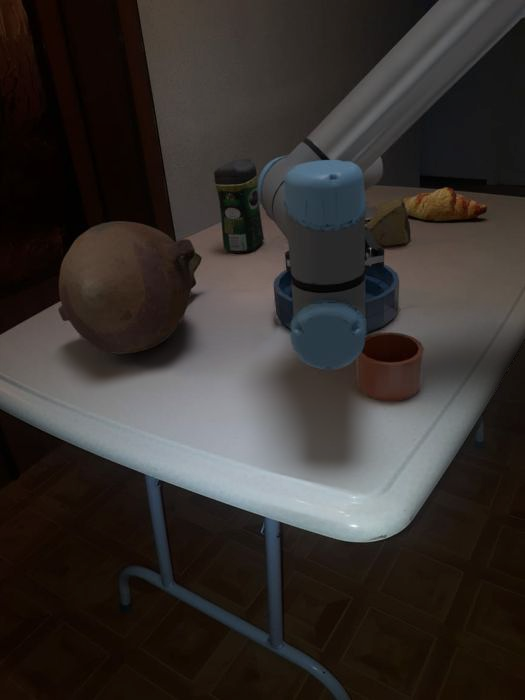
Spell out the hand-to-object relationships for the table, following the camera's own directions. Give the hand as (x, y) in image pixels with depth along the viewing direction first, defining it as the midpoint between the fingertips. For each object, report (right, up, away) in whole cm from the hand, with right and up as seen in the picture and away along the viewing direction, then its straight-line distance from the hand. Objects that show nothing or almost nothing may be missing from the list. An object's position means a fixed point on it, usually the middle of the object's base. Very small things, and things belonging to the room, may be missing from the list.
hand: (337, 221), depth 87 cm
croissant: (+30, +11, +43) cm, 53 cm away
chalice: (+11, +13, +49) cm, 52 cm away
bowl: (0, -14, +4) cm, 15 cm away
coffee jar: (-16, +3, +37) cm, 40 cm away
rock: (+14, +2, +31) cm, 34 cm away
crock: (+5, -25, -15) cm, 30 cm away
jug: (-30, -16, +6) cm, 35 cm away
